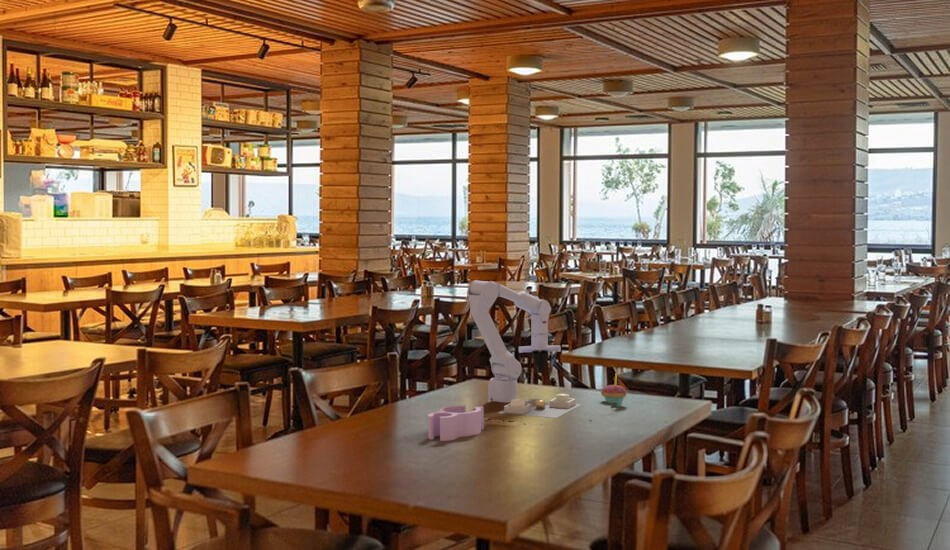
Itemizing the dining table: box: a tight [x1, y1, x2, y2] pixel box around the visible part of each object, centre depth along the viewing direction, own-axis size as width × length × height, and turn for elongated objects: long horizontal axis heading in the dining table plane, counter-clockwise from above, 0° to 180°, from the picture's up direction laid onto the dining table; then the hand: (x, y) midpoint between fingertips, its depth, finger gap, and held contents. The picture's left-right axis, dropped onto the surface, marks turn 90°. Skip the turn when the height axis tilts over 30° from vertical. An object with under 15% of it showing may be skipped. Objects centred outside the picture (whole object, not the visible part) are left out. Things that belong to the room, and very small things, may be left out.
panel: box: [497, 397, 582, 419], centre depth 321 cm, size 20×24×4 cm
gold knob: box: [535, 399, 546, 409], centre depth 321 cm, size 3×3×2 cm
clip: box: [427, 404, 485, 442], centre depth 293 cm, size 20×12×7 cm, turn 147°
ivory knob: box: [510, 398, 526, 407], centre depth 317 cm, size 4×4×4 cm
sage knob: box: [555, 393, 570, 402], centre depth 326 cm, size 4×4×4 cm
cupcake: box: [600, 370, 627, 408], centre depth 332 cm, size 9×8×12 cm
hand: (539, 372), depth 345 cm, fingers closed
